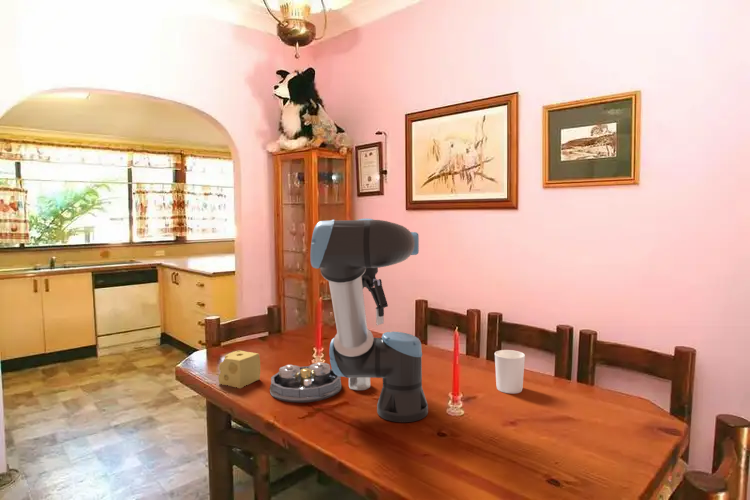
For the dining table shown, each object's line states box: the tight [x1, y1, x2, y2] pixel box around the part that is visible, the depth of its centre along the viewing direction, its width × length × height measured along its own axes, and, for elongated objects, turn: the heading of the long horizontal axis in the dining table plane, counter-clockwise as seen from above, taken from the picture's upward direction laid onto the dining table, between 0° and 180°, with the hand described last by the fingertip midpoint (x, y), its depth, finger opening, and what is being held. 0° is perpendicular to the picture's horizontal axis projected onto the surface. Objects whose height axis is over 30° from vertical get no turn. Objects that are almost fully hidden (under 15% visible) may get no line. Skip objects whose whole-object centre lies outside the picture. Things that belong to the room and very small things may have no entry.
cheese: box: [217, 349, 261, 389], centre depth 166 cm, size 10×11×10 cm
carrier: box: [269, 361, 342, 404], centre depth 159 cm, size 24×24×8 cm
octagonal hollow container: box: [348, 377, 371, 391], centre depth 160 cm, size 7×7×6 cm
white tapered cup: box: [494, 349, 526, 394], centre depth 156 cm, size 10×10×12 cm
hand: (369, 317), depth 171 cm, fingers open, 13 cm apart
